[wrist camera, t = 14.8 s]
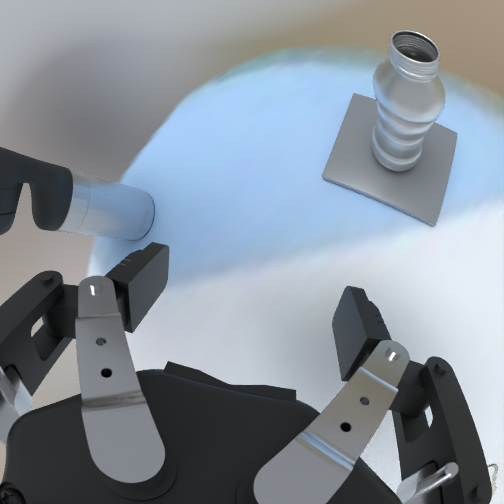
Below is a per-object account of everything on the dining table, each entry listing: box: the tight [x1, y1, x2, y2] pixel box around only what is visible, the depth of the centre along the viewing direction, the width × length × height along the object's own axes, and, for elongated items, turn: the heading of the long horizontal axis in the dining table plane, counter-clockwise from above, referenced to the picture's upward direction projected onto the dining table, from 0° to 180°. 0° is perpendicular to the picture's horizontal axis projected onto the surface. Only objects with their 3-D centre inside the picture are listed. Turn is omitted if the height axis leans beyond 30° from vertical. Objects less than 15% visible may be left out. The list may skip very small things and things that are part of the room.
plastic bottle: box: [371, 30, 445, 172], centre depth 21 cm, size 6×7×20 cm
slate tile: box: [322, 93, 457, 227], centre depth 30 cm, size 16×14×2 cm
